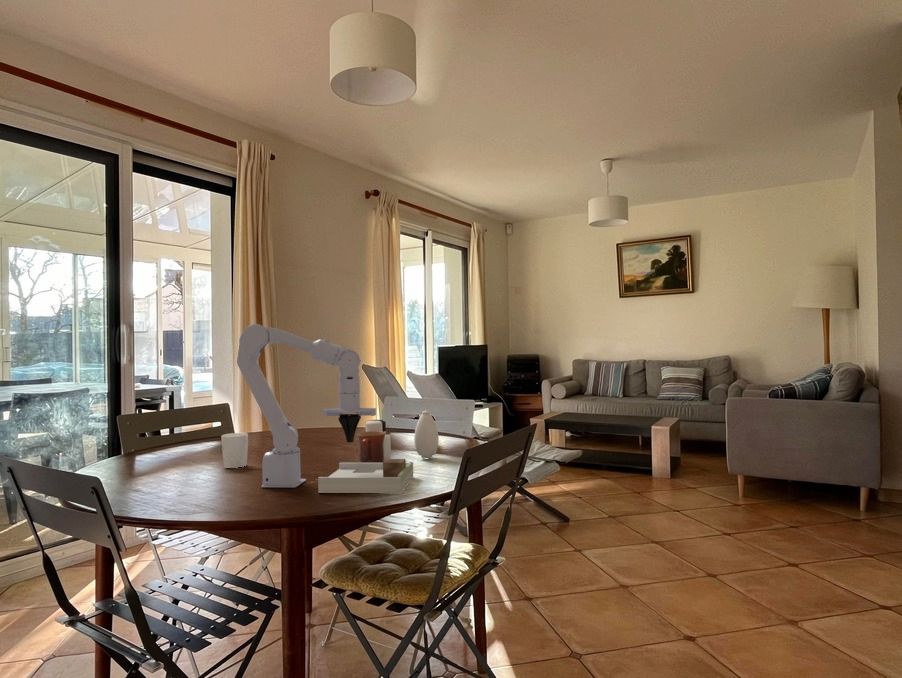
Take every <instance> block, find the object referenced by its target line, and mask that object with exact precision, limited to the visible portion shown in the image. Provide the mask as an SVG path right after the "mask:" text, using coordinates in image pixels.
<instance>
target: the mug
mask: <svg viewBox="0 0 902 678" xmlns="http://www.w3.org/2000/svg"><path fill="white" fill-rule="evenodd" d="M385 435H387V432H386V433H385V432H380V431H369V432H365V431H362V432H359V433H356V437H357V440H358V445H359V450H358V451H359V455H358V456H359V463H383V462H384V446H383V445H384V438H385Z"/></svg>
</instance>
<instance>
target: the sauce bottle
mask: <svg viewBox="0 0 902 678" xmlns="http://www.w3.org/2000/svg"><path fill="white" fill-rule="evenodd" d="M414 429H415V430H414V437H413V438H414V439H413V440H414V448H415V450H416V452H417V454H418V456H420V457H421V458H422V459H424V458H430V459H431V458H433V456H434V455H436V452H437V451H438V447H439V439H440V438H439V430H438V426H437V425H436V421H435V419H434V418H433V416H432V415H431V413H430V411H429V410H428V409H427V403H425V406H424V410H423V411H422V412H421V415H420V416H419V418H418V420H417V423H416V426H415V428H414Z"/></svg>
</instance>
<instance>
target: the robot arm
mask: <svg viewBox="0 0 902 678" xmlns="http://www.w3.org/2000/svg"><path fill="white" fill-rule="evenodd" d="M238 340H239V341H238V343H239V344H238V351H237V358H236V364H237V366H238V369H239V370H240V372H241V374H242V377H243V378H244V380H245V382H246V384H247V386H248V388H249V389H250V391H251V393H252V395H253V398H254V399H255V401H256V403H257V405H258V407H259V409H260V411H261V412H262V415H263V416H264V418H265V420H266V422H267V425H268V428H269V431H270V433H271V435H272V445H273V447H274V448H272V450H271V451H267V452H265V453H264V455H263V458H262V461H261V462H262V463H261V464H262V465H261V467H262V470H261V471H262V485H261V488H297V487H299V486H300V485H301V484H303V483H304V482H306V481H307V478H301V476H302V475H301V473H302V472H301V448H300V446H299V447H298V443H299V432H298V429H297V427H295V426H294V425H293V424H291V423H290V422H289V420H288V418H287V416H286V415H285V414H284V412H283V410H282V408H281V406H280V404H279V402H278V399H277V398H276V396H275V394H274V392H273V390H272V388H271V386H270V385H269V382H268V381H267V379H266V377H265V375H264V373H263V371H262V369H261V367H260V365H259V364H258V361H259V359H260V356H261V354H262V352H263V350H264V349H265V348H266V347H267V345H268V344H269V345H277V344H282V345H283V344H284V345H286V346H289V347H293V348H296V349H298V350H301V351H305V352H308V353H309V354H310V356H311V358H312V359H313V360H316V361H318V362H321V363H325V364H327V365H330V366H333V367H336V366H338V367H339V374H338V375H339V376H338V407H336V408H335V407H334V408H323V410H322V411H323V412H322V414H323V417H334V416H335V417H338V419H337V420H338V422H339V423H340V426H341V428H342V429H343V432H344V436H345V440H346V443H353V442H354V440H355V434H356V431H357V428H358V425H359V422H360V420H361V419H362V416H365V417H367V416H370V417H375V416H377V408H376V407H361V399H360V398H361V397H360V396H361V395H360V392H361V391H360V390H361V389H360V388H361V386H360V381H361V380H360V375H359V374H360V369H359V366H360V365H361V361H362V360H361V359H360V355H359V353H358V352H356V351H355V350H351V349H350V348H348V349H347V348H346V345H341V346H340V345H338V344H335V343H334V342H333V343H332V342H330V339H327V338H324V339H321V338H319V339H317V340H314V341H312V340H309V339H307V338H304V337H302V336H298V335H297V334H295V333H291V332H288V331H286V330H283V329H282V328H281V329H280V328H275V327H271V326H264V325H262V324H257V323H253V324H252V323H251V324H249V325H247V326H246V327H245V328H244V330H243V331H242V333H241V335H240V337H239V339H238Z"/></svg>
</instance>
